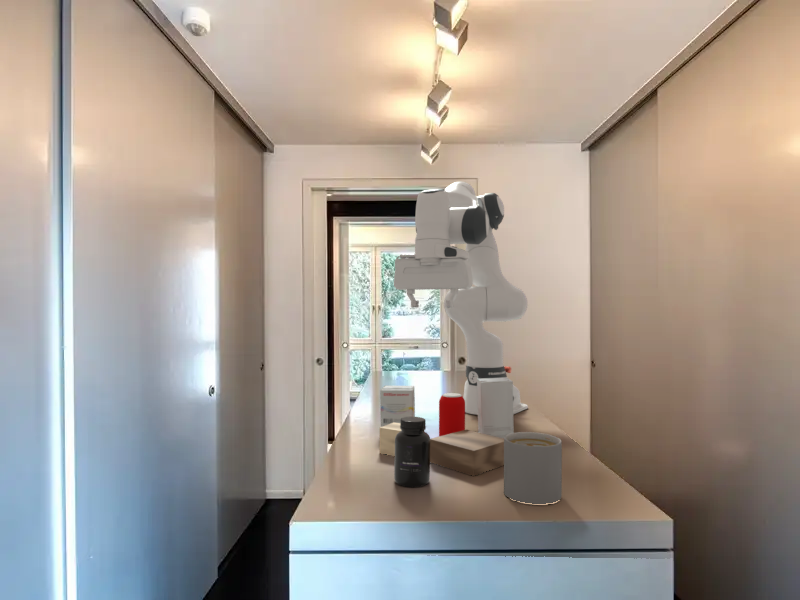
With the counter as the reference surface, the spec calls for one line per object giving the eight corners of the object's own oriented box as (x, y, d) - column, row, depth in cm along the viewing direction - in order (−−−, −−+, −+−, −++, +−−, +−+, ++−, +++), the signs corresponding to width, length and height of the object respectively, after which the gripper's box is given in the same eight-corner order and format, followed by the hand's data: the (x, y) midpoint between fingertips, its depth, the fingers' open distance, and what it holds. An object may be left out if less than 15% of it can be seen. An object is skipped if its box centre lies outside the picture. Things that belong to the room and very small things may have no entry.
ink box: (415, 428, 142) (415, 384, 142) (413, 436, 133) (413, 389, 133) (384, 427, 143) (384, 383, 143) (379, 435, 134) (379, 389, 134)
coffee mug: (571, 505, 88) (571, 445, 88) (513, 507, 88) (513, 447, 88) (542, 478, 102) (542, 426, 102) (492, 479, 101) (492, 428, 101)
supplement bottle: (404, 490, 95) (404, 424, 95) (388, 479, 101) (388, 417, 101) (437, 484, 98) (437, 420, 98) (419, 473, 104) (419, 413, 104)
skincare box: (508, 434, 135) (508, 376, 135) (514, 440, 129) (514, 380, 129) (476, 434, 135) (476, 376, 135) (480, 440, 129) (480, 380, 129)
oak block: (393, 447, 123) (393, 422, 123) (415, 451, 120) (415, 425, 120) (379, 454, 118) (379, 427, 118) (402, 458, 115) (402, 431, 115)
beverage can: (466, 448, 122) (466, 397, 122) (439, 448, 122) (439, 396, 122) (463, 441, 128) (463, 392, 128) (438, 441, 129) (438, 392, 129)
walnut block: (465, 451, 120) (465, 429, 120) (509, 463, 111) (509, 439, 111) (429, 462, 112) (429, 438, 112) (473, 476, 103) (473, 450, 103)
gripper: (389, 253, 133) (389, 307, 133) (467, 249, 125) (467, 307, 124) (400, 255, 139) (399, 307, 139) (474, 252, 131) (474, 307, 130)
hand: (432, 307), depth 131 cm, fingers open, 8 cm apart
